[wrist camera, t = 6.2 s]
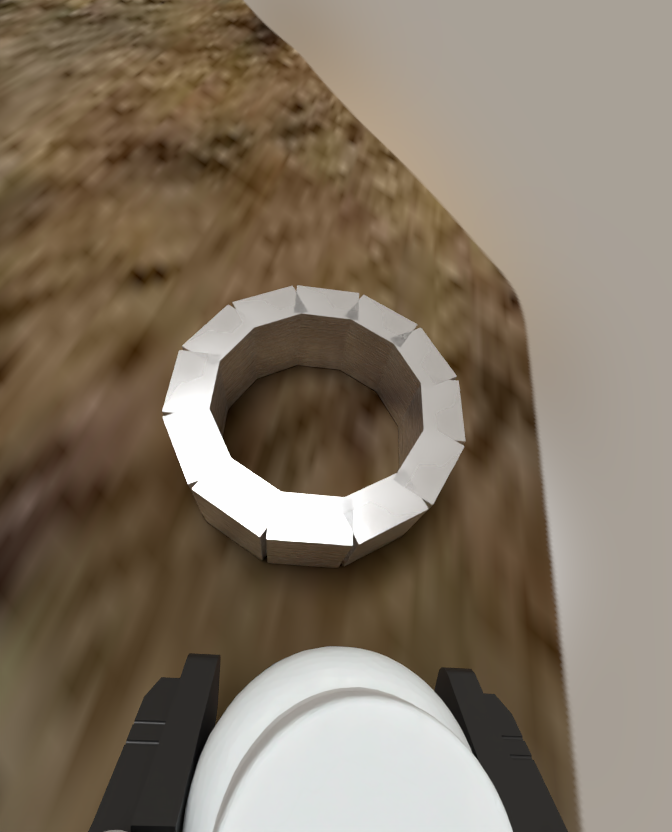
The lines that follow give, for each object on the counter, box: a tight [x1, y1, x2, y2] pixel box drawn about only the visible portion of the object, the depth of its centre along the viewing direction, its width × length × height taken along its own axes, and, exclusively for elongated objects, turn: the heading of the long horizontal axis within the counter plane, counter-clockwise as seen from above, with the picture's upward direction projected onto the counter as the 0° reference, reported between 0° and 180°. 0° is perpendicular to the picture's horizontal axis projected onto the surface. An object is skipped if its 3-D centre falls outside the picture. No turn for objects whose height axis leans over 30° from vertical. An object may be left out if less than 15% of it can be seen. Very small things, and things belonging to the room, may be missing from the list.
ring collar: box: [162, 285, 465, 568], centre depth 17 cm, size 10×10×4 cm
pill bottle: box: [182, 646, 513, 832], centre depth 9 cm, size 5×5×10 cm
